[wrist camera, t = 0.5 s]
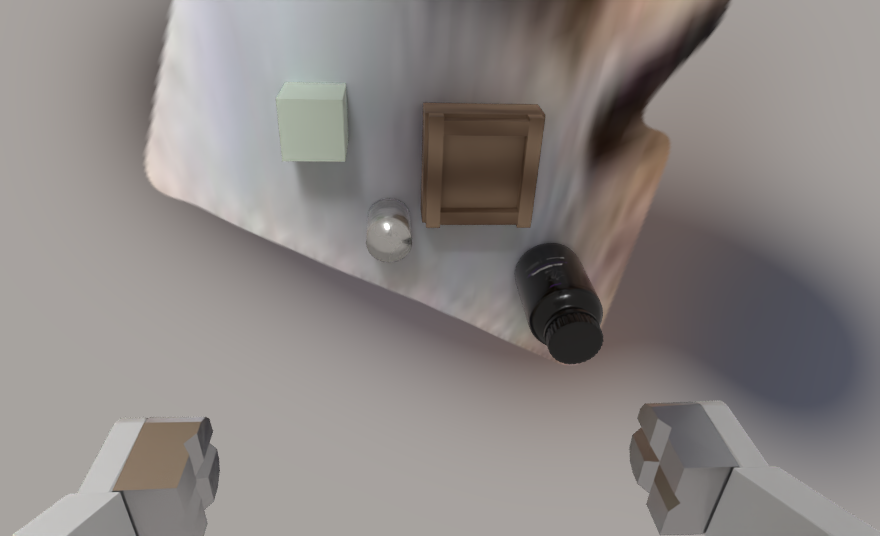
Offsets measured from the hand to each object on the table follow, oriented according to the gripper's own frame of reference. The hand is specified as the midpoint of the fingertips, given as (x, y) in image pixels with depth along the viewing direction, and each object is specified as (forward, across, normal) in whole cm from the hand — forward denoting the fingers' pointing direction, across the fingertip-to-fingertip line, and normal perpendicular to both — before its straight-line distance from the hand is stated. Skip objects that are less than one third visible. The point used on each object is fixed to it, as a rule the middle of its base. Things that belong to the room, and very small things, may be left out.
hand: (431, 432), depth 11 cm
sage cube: (+43, +7, +7) cm, 44 cm away
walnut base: (+43, -7, +11) cm, 45 cm away
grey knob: (+43, +1, +17) cm, 46 cm away
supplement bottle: (+43, -15, +23) cm, 51 cm away
